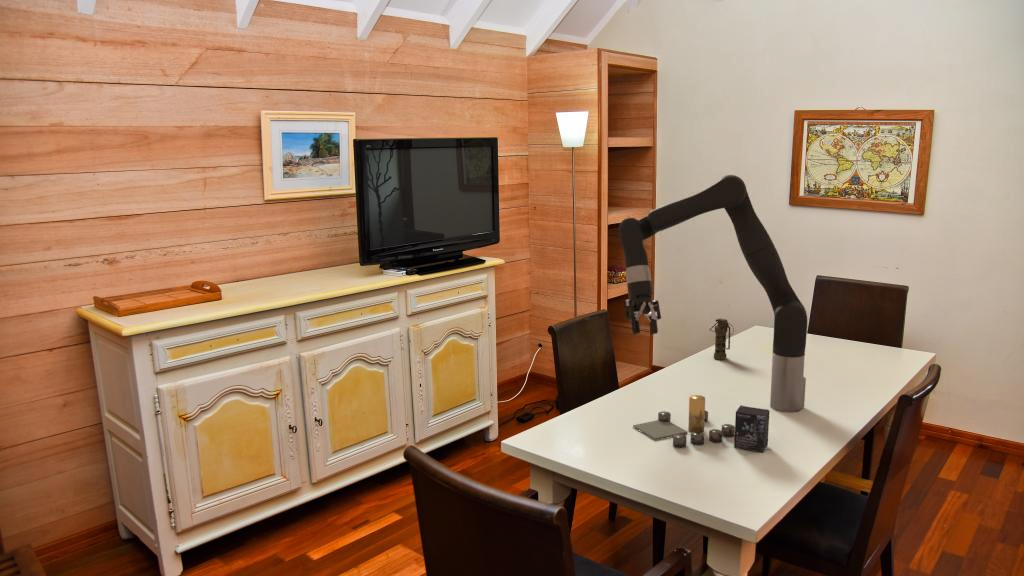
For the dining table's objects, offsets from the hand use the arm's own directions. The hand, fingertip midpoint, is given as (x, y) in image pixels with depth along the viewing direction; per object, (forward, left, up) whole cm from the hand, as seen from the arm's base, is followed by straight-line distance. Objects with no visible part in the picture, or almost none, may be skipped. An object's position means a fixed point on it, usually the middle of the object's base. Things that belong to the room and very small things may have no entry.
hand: (645, 333), depth 238 cm
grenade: (-53, -29, -24) cm, 65 cm away
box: (-8, +39, -24) cm, 46 cm away
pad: (+7, +18, -24) cm, 30 cm away
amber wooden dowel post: (-2, +23, -24) cm, 33 cm away
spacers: (0, +22, -24) cm, 32 cm away
